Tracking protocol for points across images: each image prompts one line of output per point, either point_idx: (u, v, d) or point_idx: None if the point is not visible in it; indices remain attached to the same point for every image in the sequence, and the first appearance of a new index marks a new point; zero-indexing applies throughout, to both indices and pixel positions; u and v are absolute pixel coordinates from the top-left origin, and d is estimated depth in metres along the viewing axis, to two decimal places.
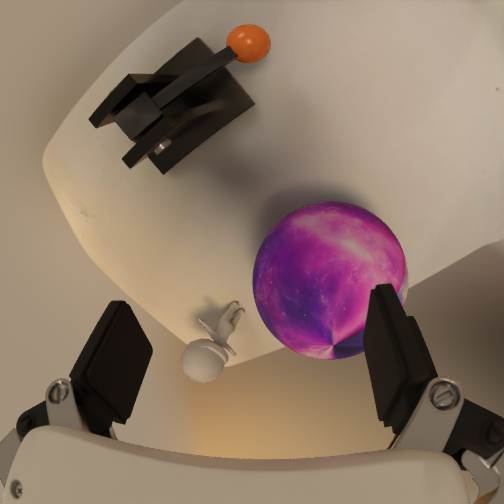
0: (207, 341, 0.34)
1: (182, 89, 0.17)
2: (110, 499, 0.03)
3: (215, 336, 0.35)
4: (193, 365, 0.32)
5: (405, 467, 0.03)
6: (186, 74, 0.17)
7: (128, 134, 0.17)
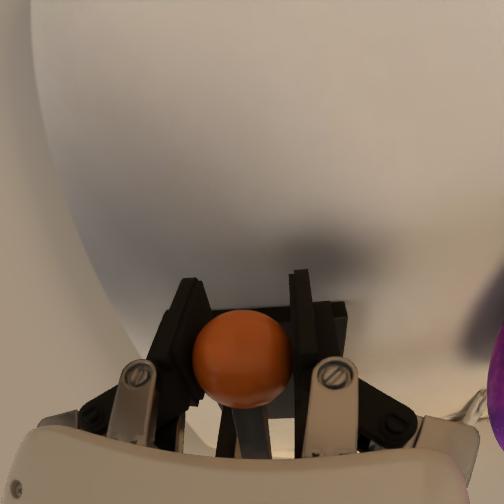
0: None
1: None
2: (109, 499, 0.03)
3: None
4: None
5: (405, 467, 0.03)
6: None
7: None
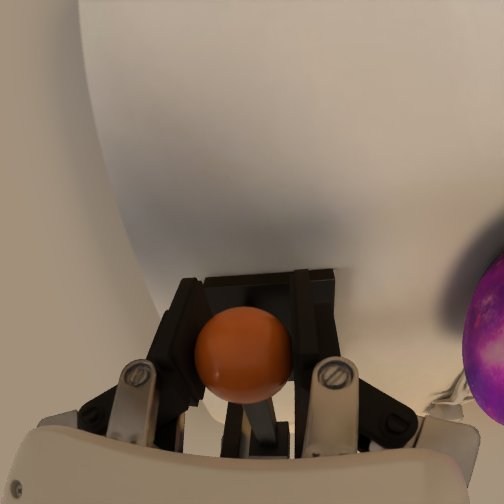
0: (442, 414, 0.27)
1: (271, 434, 0.12)
2: (110, 499, 0.03)
3: (450, 404, 0.27)
4: None
5: (405, 467, 0.03)
6: (254, 427, 0.12)
7: None
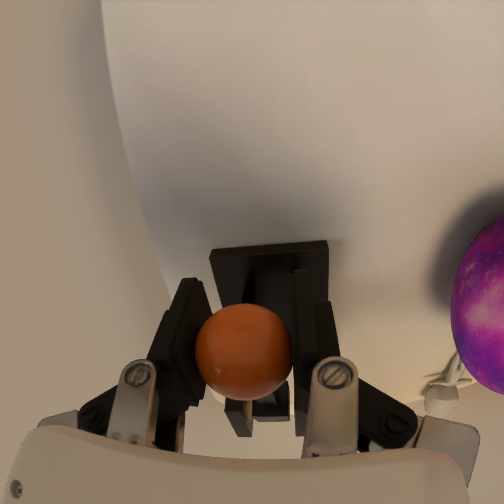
0: (437, 395, 0.29)
1: (272, 400, 0.14)
2: (110, 499, 0.03)
3: (445, 385, 0.29)
4: (428, 413, 0.30)
5: (405, 467, 0.03)
6: None
7: (282, 421, 0.17)
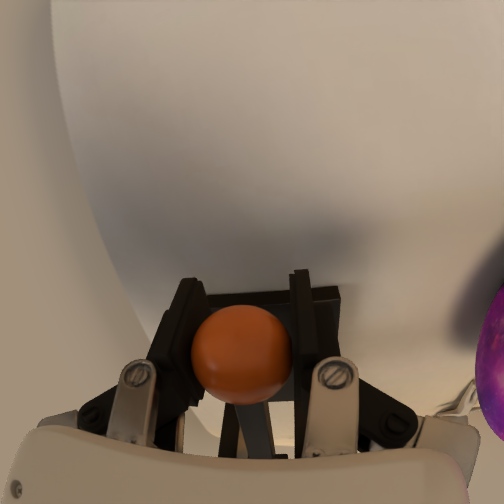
0: None
1: None
2: (110, 499, 0.03)
3: (456, 416, 0.25)
4: None
5: (405, 467, 0.03)
6: (250, 451, 0.10)
7: None
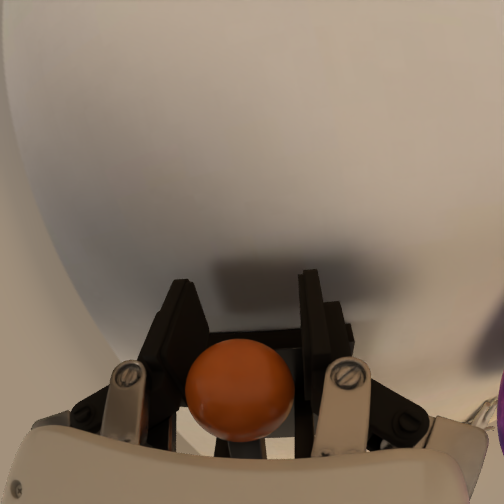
0: None
1: None
2: (110, 499, 0.03)
3: None
4: None
5: (405, 467, 0.03)
6: None
7: None
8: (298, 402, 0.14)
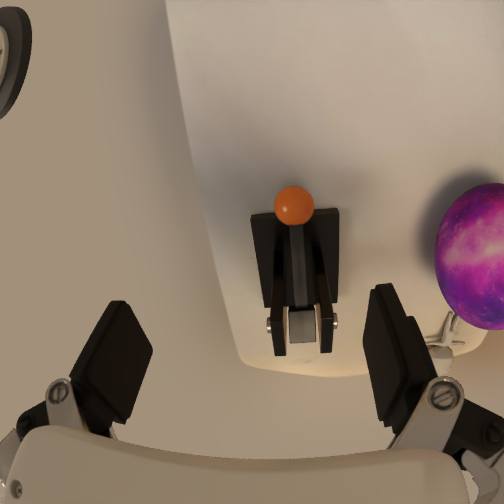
0: (434, 354, 0.36)
1: (304, 283, 0.23)
2: (110, 499, 0.03)
3: (441, 345, 0.36)
4: None
5: (405, 467, 0.03)
6: (294, 272, 0.24)
7: (310, 341, 0.23)
8: (314, 251, 0.29)
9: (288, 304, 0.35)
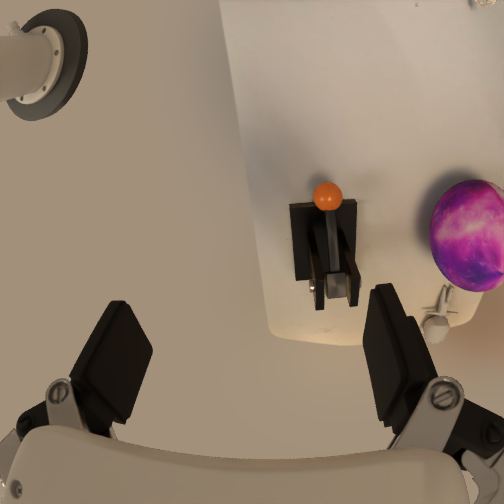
0: (433, 322, 0.45)
1: (337, 253, 0.31)
2: (110, 499, 0.03)
3: (438, 315, 0.44)
4: (428, 339, 0.45)
5: (405, 467, 0.03)
6: (329, 245, 0.32)
7: (342, 296, 0.31)
8: (338, 232, 0.37)
9: None
